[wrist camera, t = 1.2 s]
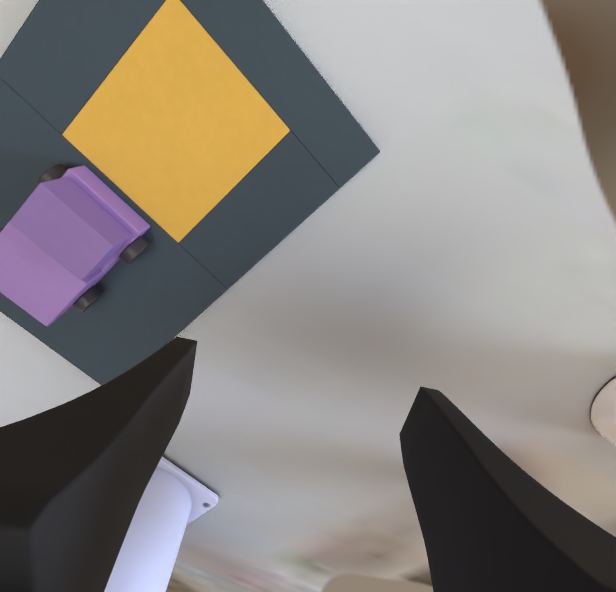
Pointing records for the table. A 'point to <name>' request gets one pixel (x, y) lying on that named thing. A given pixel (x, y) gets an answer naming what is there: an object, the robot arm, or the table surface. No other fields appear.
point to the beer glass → (605, 412)
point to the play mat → (169, 152)
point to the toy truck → (66, 243)
